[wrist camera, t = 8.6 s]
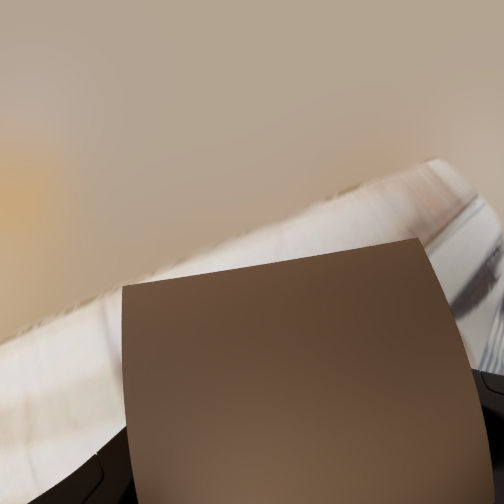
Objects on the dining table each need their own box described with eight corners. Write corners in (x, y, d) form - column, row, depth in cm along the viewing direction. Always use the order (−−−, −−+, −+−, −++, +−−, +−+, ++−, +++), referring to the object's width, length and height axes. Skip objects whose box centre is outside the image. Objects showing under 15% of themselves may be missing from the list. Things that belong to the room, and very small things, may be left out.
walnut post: (338, 463, 11) (495, 502, 2) (233, 483, 11) (165, 595, 2) (317, 369, 14) (417, 237, 5) (216, 387, 14) (122, 285, 4)
